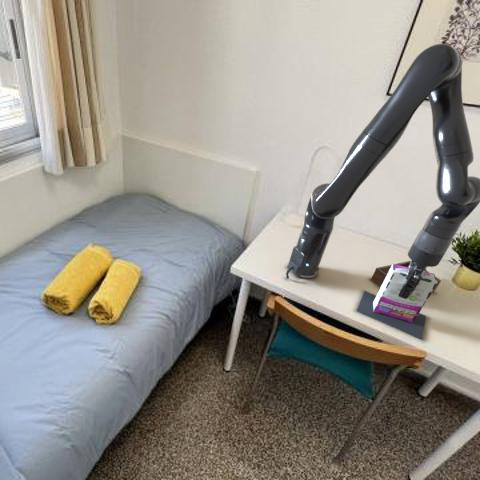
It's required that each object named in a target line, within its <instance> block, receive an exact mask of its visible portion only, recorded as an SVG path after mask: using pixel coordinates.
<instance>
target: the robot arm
mask: <svg viewBox="0 0 480 480" xmlns="http://www.w3.org/2000/svg"><path fill="white" fill-rule="evenodd" d="M463 63H464V62H463V56H462V55H461V53H460V52H459V51H458V50H457V49H456V48H454V47H453V46H451V45H450V44H447V43H437V44H433V45H430V46H429V47H427V48H425V49H424V50H422V51H421V52H420V53H419V54H418V55H416V57H415V58H414V60H413V61H412V63H410V66H409V67H408V69H407V70H406V71H405V74H404V75H403V77H402V78H401V80H400V82H398V85H397V86H396V88H395V89H394V90H393V92H392V94H391V95H390V96H389V97H388V98H387V100H386V101H385V103H383V105H382V106H381V107H380V108H379V109H378V111H377V112H376V113H375V115H374V116H373V117H372V119H371V120H370V121H369V123H368V124H367V125H366V126H365V127H364V128H363V130H362V131H361V132H360V134H359V135H358V136H357V138H356V139H355V140H354V142H353V143H352V145H351V146H350V148H349V149H348V151H347V153H346V155H345V158H344V160H343V162H342V165H341V167H340V169H339V170H338V172H337V174H336V176H335V177H334V178H333V180H332V181H331V182H323V183H321V184H319V185H317V186H316V187H314V189H313V190H312V192H311V194H310V198H309V200H308V203H307V207H306V210H305V214H304V217H303V223H302V228H301V230H300V233H299V236H298V240H297V242H296V245H295V246H293V248H292V251H291V254H290V257H289V260H288V262H287V270H286V274H285V278H286V279H287V280H289V279H290V276H289V274H290V272H291V273H292V274H293V275H294V276H295V277H296V278H302V279H312V278H315V277H316V276H317V273H318V271H319V270H320V269H319V267H320V264H321V262H322V260H323V256H324V253H325V251H326V248H327V245H328V243H329V241H330V238H331V236H332V232H333V230H334V223H335V219H336V217H338V216H339V215H340V214H341V213H342V212H343V211H344V210H345V208H346V206H347V205H348V204H349V202H350V201H351V199H352V197H354V195H355V194H356V192H357V191H358V189H360V187H361V185H363V183H364V182H365V181H366V180H367V179H368V177H369V176H370V175H371V174H372V173H373V172H374V170H376V169H377V167H378V166H379V165H380V164H381V162H382V161H383V160H384V159H385V158H386V157H387V156H388V155H389V154H390V153H391V151H392V150H393V149H394V148H395V146H397V144H398V142H399V141H400V140H401V138H402V136H403V135H404V133H405V132H406V130H407V128H408V126H409V124H410V122H411V120H412V118H413V116H414V115H415V113H416V111H418V109H419V108H420V106H421V105H422V104H423V103H424V102H425V101H426V99H428V102H429V105H430V110H431V117H432V143H433V149H434V154H435V155H434V156H435V160H436V164H437V169H436V177H435V178H436V179H435V192H436V197H437V199H438V200H439V202H440V203H441V205H440V206H439V207H437V208H435V209H434V210H433V211H432V212H431V213H430V214H429V215H428V216H427V217H428V218H427V219H426V221H425V223H424V225H423V226H422V228H421V229H420V231H419V232H418V233H417V235H416V237H415V239H414V241H413V242H412V244H411V246H410V248H409V250H408V252H407V256H408V258H409V259H410V261H411V262H410V265H409V268H408V269H409V270H408V272H407V275H406V277H405V279H406V281H405V283H404V284H403V287H402V289H401V291H400V293H399V297H402V298H404V299H407V297H408V296H409V294H410V292H411V291H412V292H413V291H414V290H415V288H416V286H417V285H418V283H419V282H420V280H421V279H422V276H423V275H424V274H425V272H426V271H428V269H427V268H428V267H429V268H430V267H431V268H434V267H438V265H440V263H441V261H442V259H443V257H444V256H445V255H446V253H447V251H448V249H449V248H450V246H451V245H452V242H453V239H454V237H455V236H456V235H457V233H458V231H459V229H460V228H461V226H462V224H463V222H464V221H465V220H466V219H467V218H468V217H469V216H470V215H471V214H472V212H473V211H474V210H475V209H476V208H477V207H478V206H479V205H480V178H479V177H477V176H472V175H469V166H470V165H471V164H473V162H474V149H473V145H472V144H473V143H472V140H471V139H472V138H471V135H470V131H469V130H470V129H469V127H468V121H467V118H466V113H465V107H464V102H463V90H462V87H463V85H462V83H463V82H462V80H463V79H462V78H463V65H464V64H463ZM409 274H410V277H409ZM409 284H410V285H409Z"/></svg>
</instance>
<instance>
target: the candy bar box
mask: <svg viewBox="0 0 480 480" xmlns="http://www.w3.org/2000/svg"><path fill="white" fill-rule="evenodd" d="M396 264H397V263H392V264H391V265H392V266H391V268H390V270H389V272H388V274H387V276H386V278H385V280H384V282H383V284H382V286H381V288H380V287H379V290H378V292H377V294H376V298H375V300H374V302H373V310H374V312H376V313H379V314H382V315H386V316H389V317H393V318H396V319H400V320H403V321H407V322H410V323H413V322H414V320H415V319H416V317H417V316H418V314H419V313H421V311H422V309H423V308H424V306H425V304H426V302H428V299H429V298H430V296H431V295H432V294H433V293H432V291H433V289H434V288H435V286H436V285H437V283H438V282H437V280H436V277H437V276H436V274H435V273H433V272H430V271H428V272H425V274H424V275H423V276H422V279H421V280H420V282H419V283H418V285H417V286H416V288H415V290H414V291H413V292H412V291H411V292H410V294H409V296H408V297H407V299H404V298H402V297H399V293H400V291H401V289H402V287H403V284H404V283H405V281H406V279H405V277H406V275H407V272H408V270H409V269H408V268H409V267H404V266H400V265H396ZM409 277H410V274H409ZM409 285H410V284H409Z"/></svg>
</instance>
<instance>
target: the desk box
mask: <svg viewBox="0 0 480 480" xmlns="http://www.w3.org/2000/svg"><path fill="white" fill-rule="evenodd" d="M410 262H411V260H408V261H403V262H398V263H395V264H396V265H400V266H404V267H409V265H410ZM391 266H392V264H388V265H384V266H379V267H378V266H377V267H376V268H375V270H374V272H373V273H372V275H371V278H370V281H371V282H372V283H374V284H375V285H376V286H378V288H379V289H380V288H381V286H382V284H383V282H384V280H385V278H386V276H387V274H388V272H389V270H390V268H391ZM426 272H429V271H428V270H426ZM435 277H436V280H437V282H438V283H437V285H436V286H435V288H434V289H433V291H432V293H431V294H434V293H435V291H437V288H438V287H439V285H440V284H441V282H442V279H440V278H439V277H437V276H435Z"/></svg>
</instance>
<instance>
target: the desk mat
mask: <svg viewBox="0 0 480 480" xmlns="http://www.w3.org/2000/svg"><path fill="white" fill-rule="evenodd" d="M376 296H377V294H373V293H372V292H368V291H366V290H364V292H363V294H362V296H361V299H360V301H359V304H358V306H357V308H356V312H358V313H360V314H362V315H364V316H366V317H369V318H372V319H373V320H376V321H378V322H380V323H382V324H385V325H387V326H389V327H392V328H394V329H395V330H398V331H400V332H403V333H405V334H408V335H410V336H412V337H415V338H417V339H419V340H423V337H424V332H425V331H424V330H425V327H426V326H425V325H426V320H427V315H425V314H423V313H421V312H419V314H418V316H417V317H416V319H415V320H414V322H413V323H410V322H407V321H403V320H400V319H396V318H393V317H389V316H386V315H382V314H379V313H376V312H374V310H373V302H374V300H375V298H376Z"/></svg>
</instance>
